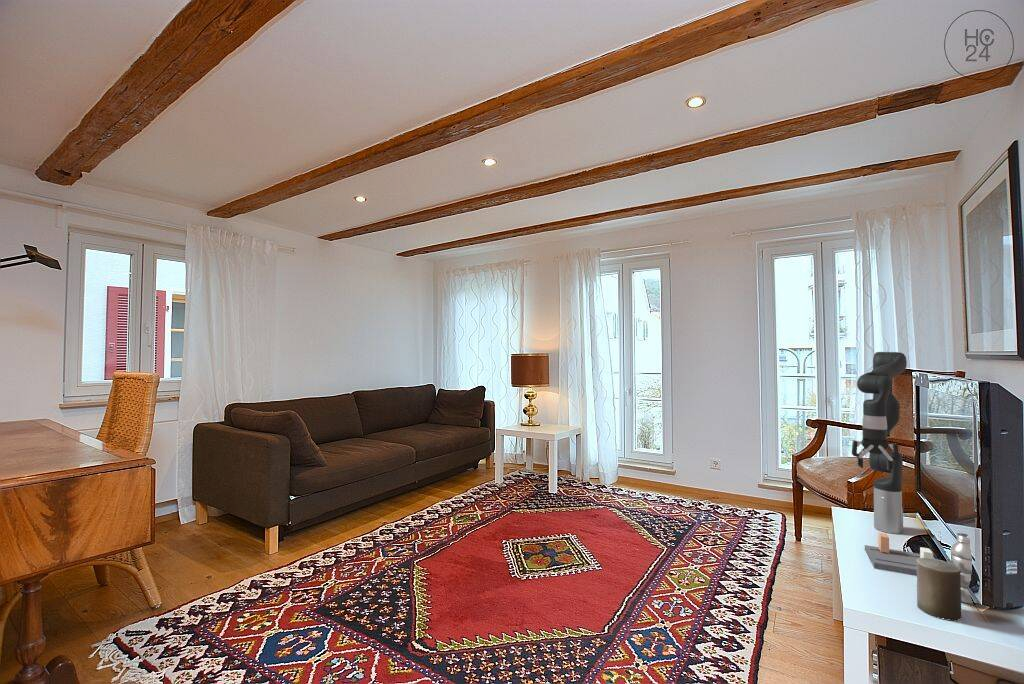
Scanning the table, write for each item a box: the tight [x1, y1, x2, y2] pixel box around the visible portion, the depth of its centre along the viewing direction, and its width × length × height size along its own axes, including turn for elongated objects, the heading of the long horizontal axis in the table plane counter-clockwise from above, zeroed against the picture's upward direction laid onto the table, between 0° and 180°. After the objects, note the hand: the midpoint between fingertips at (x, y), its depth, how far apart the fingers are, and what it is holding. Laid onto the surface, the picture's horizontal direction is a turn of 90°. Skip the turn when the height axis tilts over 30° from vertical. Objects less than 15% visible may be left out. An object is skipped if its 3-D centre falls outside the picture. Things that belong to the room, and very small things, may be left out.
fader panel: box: [864, 544, 936, 577], centre depth 166 cm, size 20×16×2 cm
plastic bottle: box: [950, 532, 974, 605], centre depth 142 cm, size 6×7×20 cm
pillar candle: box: [916, 558, 962, 621], centre depth 137 cm, size 10×10×15 cm
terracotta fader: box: [877, 532, 890, 553], centre depth 172 cm, size 2×4×6 cm, turn 153°
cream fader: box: [919, 546, 934, 559], centre depth 159 cm, size 2×4×6 cm, turn 153°
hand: (874, 468), depth 181 cm, fingers open, 8 cm apart
